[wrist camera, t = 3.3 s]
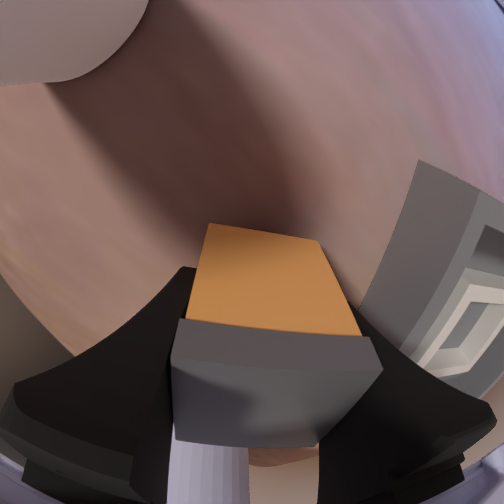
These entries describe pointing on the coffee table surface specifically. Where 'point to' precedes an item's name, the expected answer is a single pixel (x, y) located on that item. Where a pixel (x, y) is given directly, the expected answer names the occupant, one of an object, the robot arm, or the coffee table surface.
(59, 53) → the can
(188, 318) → the plug
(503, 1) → the beer glass
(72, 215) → the coffee table surface
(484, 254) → the box
